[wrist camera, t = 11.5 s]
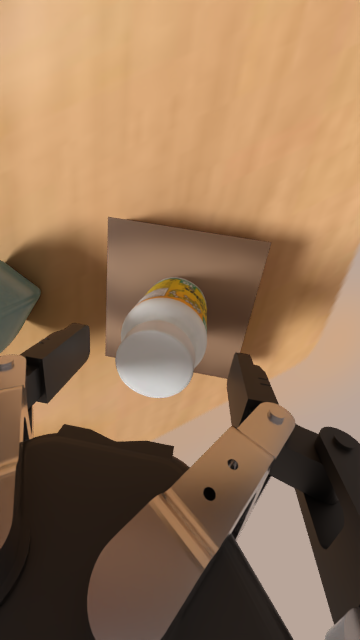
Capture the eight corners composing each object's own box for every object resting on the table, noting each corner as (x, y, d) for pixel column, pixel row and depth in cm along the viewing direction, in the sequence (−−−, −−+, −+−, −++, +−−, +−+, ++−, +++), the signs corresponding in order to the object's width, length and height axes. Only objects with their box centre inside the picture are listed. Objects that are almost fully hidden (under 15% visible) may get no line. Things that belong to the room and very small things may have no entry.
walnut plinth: (125, 219, 21) (108, 216, 18) (259, 240, 21) (271, 242, 17) (119, 338, 26) (105, 355, 23) (228, 358, 26) (232, 379, 22)
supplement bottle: (136, 291, 20) (80, 339, 11) (191, 265, 18) (177, 296, 10) (163, 341, 21) (133, 419, 12) (216, 321, 20) (224, 392, 11)
